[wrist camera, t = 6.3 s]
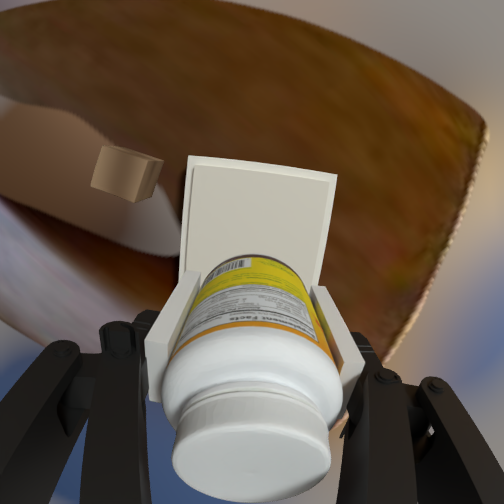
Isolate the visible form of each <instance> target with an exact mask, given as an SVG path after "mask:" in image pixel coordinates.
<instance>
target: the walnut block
mask: <svg viewBox="0 0 504 504" xmlns="http://www.w3.org/2000/svg"><path fill="white" fill-rule="evenodd" d="M163 163H164V161H163V160H160V159H157V158H154V157H151V156H148V155H146V154H143V153H140V152H137V151H134V150H131V149H128V148H125V147H117V146H104V145H103V146H102V148H101V151H100V154H99V158H98V161H97V164H96V167H95V171H94V175H93V178H92V182H91V185H90V186H92V187H94V188H97V189H99V190H102V191H105V192H107V193H109V194H112V195H115V196H117V197H120V198H122V199H125V200H128V201H130V202H133V203H136V202H138V201H141V200H144V199H147V198H150V197H152V195H153V192H154V189H155V186H156V182H157V180H158V177H159V174H160V171H161V168H162V165H163Z"/></svg>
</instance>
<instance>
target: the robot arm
mask: <svg viewBox="0 0 504 504" xmlns="http://www.w3.org/2000/svg"><path fill="white" fill-rule="evenodd" d="M200 281H201V272H197V271H190V270H186V272H185V273H184V275H183V276H182V278H181V280H180V281H179V283H178V285H177V286H176V288H175V289H174V291H173V293H172V294H171V296H170V298H169V299H168V301H167V303H166V304H165V306H164V308H163V309H162V311H161V312H159V311H153V310H145V311H143V312H141V313H140V314H138V315H137V317H136V318H135V320H134V322H132V324H131V323H129V322H124V321H113V322H109V323H106V324H105V325H103V326H102V327H101V328H100V329H99V335H100V342H101V349H102V353H99V354H88V353H80V348H79V346H78V345H77V344H76V343H75V342H72V341H69V340H59V341H55V342H52V343H51V344H49V345H48V346H47V347H46V348H45V349H44V350H43V351H42V352H41V354H40V355H39V356H38V357H37V358H36V359H35V361H34V362H33V363H32V364H31V365H30V366H29V368H28V369H27V370H26V371H25V372H24V373H23V375H22V376H21V377H20V378H19V380H18V381H17V382H16V383H15V384H14V386H13V387H12V388H11V389H10V391H9V392H8V393H7V394H6V395H5V397H4V398H3V399H2V401H1V402H0V504H49V501H50V499H51V497H52V494H53V492H54V490H55V487H56V485H57V483H58V480H59V478H60V476H61V473H62V471H63V469H64V467H65V464H66V462H67V460H68V458H69V456H70V454H71V452H72V450H73V447H74V445H75V443H76V441H77V439H78V437H79V435H80V433H81V431H82V429H83V427H84V425H85V423H86V421H87V419H88V425H87V431H86V438H85V446H84V455H83V464H82V475H81V487H80V504H152V501H151V491H150V480H149V468H148V455H147V454H148V453H147V432H146V405H145V398H146V395H147V393H148V392H149V400H150V401H154V402H158V403H162V400H161V387H162V382H163V378H164V375H165V372H166V368H167V366H168V363H169V361H170V358H171V356H172V353H173V351H174V348H175V346H176V344H177V341H178V339H179V336H180V334H181V332H182V329H183V327H184V325H185V322H186V320H187V318H188V315H189V313H190V310H191V308H192V306H193V303H194V301H195V299H196V297H197V294H198V292H199V290H200ZM309 297H310V300H311V303H312V305H313V308H314V310H315V313H316V315H317V318H318V320H319V323H320V326H321V328H322V329H323V333H324V335H325V338H326V341H327V343H328V346H329V349H330V352H331V354H332V357H333V359H334V362H335V365H336V367H337V370H338V373H339V376H340V380H341V384H342V390H343V401H342V407H341V411H340V414H339V416H338V418H337V419H342V417H343V415H344V413H345V411H346V408H347V410H348V413H349V418H348V420H347V422H346V425H345V426H344V428H343V430H342V432H341V435H340V438H342V437H343V435H344V434H345V436H344V446H343V455H342V464H341V473H340V480H339V488H338V494H337V501H336V504H417V501H418V504H504V472H503V470H502V468H501V467H500V465H499V463H498V461H497V460H496V458H495V456H494V455H493V453H492V451H491V449H490V448H489V446H488V444H487V443H486V441H485V439H484V438H483V436H482V434H481V433H480V431H479V430H478V428H477V426H476V425H475V423H474V422H473V420H472V419H471V417H470V415H469V414H468V412H467V411H466V409H465V408H464V406H463V405H462V403H461V402H460V400H459V399H458V397H457V396H456V394H455V393H454V391H453V390H452V388H451V387H450V386H449V385H448V383H447V382H445V381H444V380H442V379H441V378H438V377H426V378H424V379H423V380H422V381H421V383H420V385H419V386H414V385H409V384H404V383H402V380H401V378H400V376H399V375H397V373H395V372H394V371H392V370H389V369H386V368H383V366H382V364H381V362H380V361H379V359H378V357H377V355H376V354H375V352H374V350H373V348H372V347H371V345H370V343H369V342H368V340H367V338H365V337H364V336H363V335H362V334H360V333H359V332H349V330H348V328H347V326H346V324H345V323H344V321H343V319H342V317H341V315H340V313H339V311H338V309H337V307H336V306H335V304H334V302H333V300H332V298H331V296H330V295H329V293H328V291H327V289H326V287H323V286H314V285H311V288H310V293H309ZM88 417H89V418H88ZM431 426H432V427H433V429H434V433H433V435H431V434H430V433H429V431H428V430H429V429H430V427H431Z"/></svg>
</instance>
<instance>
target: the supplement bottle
mask: <svg viewBox="0 0 504 504" xmlns="http://www.w3.org/2000/svg"><path fill="white" fill-rule="evenodd" d="M161 400H162V406H163V410H164V412H165V415H166V417H167V419H168V421H169V423H170V424H171V425H172V427H173V428H174V430H175V431H176V438H175V442H174V446H173V450H172V457H171V459H172V465H173V467H174V470H175V471H176V473H177V474H178V476H179V477H180V478H181V479H182V480H183V481H184V482H185V483H187V484H188V485H189V486H191V487H192V488H194V489H196V490H198V491H200V492H202V493H204V494H207V495H210V496H212V497H215V498H219V499H223V500H228V501H234V502H245V503H260V502H271V501H278V500H282V499H287V498H290V497H293V496H296V495H299V494H301V493H303V492H305V491H307V490H309V489H311V488H312V487H314V486H315V485H316V484H318V483H319V482H320V481H321V480H322V479H323V478H324V477H325V476H326V474H327V473H328V471H329V469H330V465H331V453H330V448H329V441H328V433H329V431H330V429H331V428H332V427H333V425H334V424H335V422H336V420H337V418H338V416H339V414H340V411H341V407H342V401H343V390H342V384H341V380H340V376H339V373H338V370H337V367H336V365H335V362H334V359H333V357H332V354H331V352H330V349H329V346H328V343H327V341H326V338H325V335H324V333H323V329H322V328H321V326H320V323H319V320H318V318H317V315H316V313H315V310H314V308H313V305H312V303H311V300H310V297H309V295H308V293H307V290H306V288H305V285H304V283H303V282H302V280H301V278H300V277H299V275H298V274H297V273H296V272H295V271H294V270H293V269H292V268H291V267H290V266H289V265H287V264H286V263H284V262H283V261H281V260H279V259H277V258H275V257H272V256H269V255H264V254H242V255H237V256H234V257H231V258H229V259H227V260H225V261H223V262H222V263H220V264H219V265H217V266H216V267H215V268H214V269H213V270H212V271H211V272H210V273H209V274H208V276H207V277H206V278H205V280H204V282H203V284H202V285H201V288H200V290H199V292H198V294H197V297H196V299H195V301H194V303H193V306H192V308H191V310H190V313H189V315H188V318H187V320H186V322H185V325H184V327H183V329H182V332H181V334H180V336H179V339H178V341H177V344H176V346H175V348H174V351H173V353H172V356H171V358H170V361H169V363H168V366H167V368H166V372H165V375H164V378H163V382H162V387H161Z"/></svg>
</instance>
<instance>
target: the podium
mask: <svg viewBox="0 0 504 504" xmlns="http://www.w3.org/2000/svg"><path fill="white" fill-rule="evenodd" d="M336 181H337V175H335V174H330V173H324V172H318V171H313V170H306V169H300V168H294V167H287V166H280V165H273V164H266V163H258V162H250V161H241V160H232V159H223V158H212V157H201V156H189V155H188V164H187V174H186V184H185V194H184V206H183V218H182V232H181V247H180V265H179V281H180V280H181V278H182V276H183V275H184V273H185V272H186V270H190V271H197V272H201V281H200V288H201V285H202V284H203V282H204V280H205V278H206V277H207V276H208V274H209V273H210V272H211V271H212V270H213V269H214V268H215V267H216V266H217V265H219V264H220V263H222V262H223V261H225V260H227V259H229V258H231V257H234V256H237V255H242V254H264V255H269V256H272V257H275V258H277V259H279V260H281V261H283V262H284V263H286V264H287V265H289V266H290V267H291V268H292V269H293V270H294V271H295V272H296V273H297V274H298V275H299V277H300V278H301V280H302V282H303V283H304V285H305V288H306V290H307V293H308V295H309V293H310V288H311V285H314V286H318V281H319V276H320V271H321V266H322V261H323V256H324V251H325V246H326V240H327V235H328V229H329V224H330V218H331V212H332V206H333V200H334V194H335V187H336Z"/></svg>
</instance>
